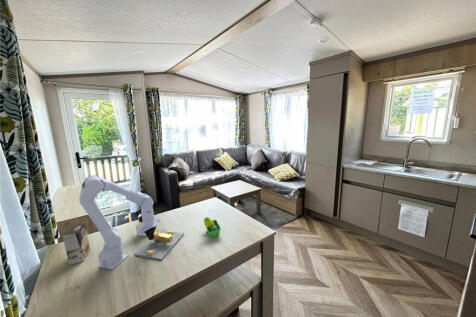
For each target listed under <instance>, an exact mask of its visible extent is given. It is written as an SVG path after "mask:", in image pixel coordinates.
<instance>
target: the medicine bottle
mask: <svg viewBox="0 0 476 317" xmlns="http://www.w3.org/2000/svg"><path fill="white" fill-rule="evenodd" d="M137 221H138V222H137V223H136V224H135V230H136V236H141V237H142V236H144V237H145V236H146V237H147V235H146V234H145V233H142V235H138V231H139V230H140V229H141V227H142V226H143V220H142V213H141V214H139V215H138V216H137Z"/></svg>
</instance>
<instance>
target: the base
mask: <svg viewBox="0 0 476 317" xmlns="http://www.w3.org/2000/svg"><path fill="white" fill-rule="evenodd" d="M158 233H163V234H169V235H172V241H171V242H170V243H167V242H165V243H163V244H159V245H157V244H155V243H154V240H149V241H148V242H146V243H145V244H144V245H143V246H142V247H141V248H140V249H138V250H137V251H136V252H135V253H134V256H135V257H141V258H146V259H152V260H158V261H163V260H164V258H165V257H166V256H167V255H168V254H169V253H170V252H171V251H172V249H173V248H174V247H175V246H176V245H177V243H178V242H179V241H180V240H181V239H182V238H183V237H184V235H185V233H184V232H178V231H177V232H176V231H174V230H159V232H158Z"/></svg>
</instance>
